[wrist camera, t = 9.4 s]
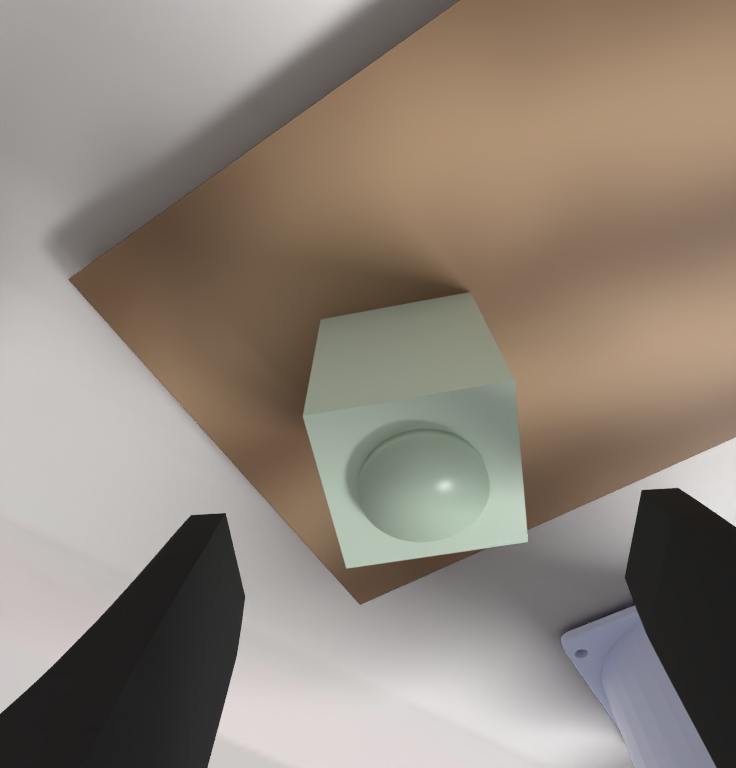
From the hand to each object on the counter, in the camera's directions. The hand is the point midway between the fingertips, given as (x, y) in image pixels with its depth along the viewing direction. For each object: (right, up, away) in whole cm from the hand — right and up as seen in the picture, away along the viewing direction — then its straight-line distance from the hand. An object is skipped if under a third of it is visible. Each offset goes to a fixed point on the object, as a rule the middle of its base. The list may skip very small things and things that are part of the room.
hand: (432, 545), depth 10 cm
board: (+3, +6, +6) cm, 9 cm away
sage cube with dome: (0, +3, +6) cm, 7 cm away
